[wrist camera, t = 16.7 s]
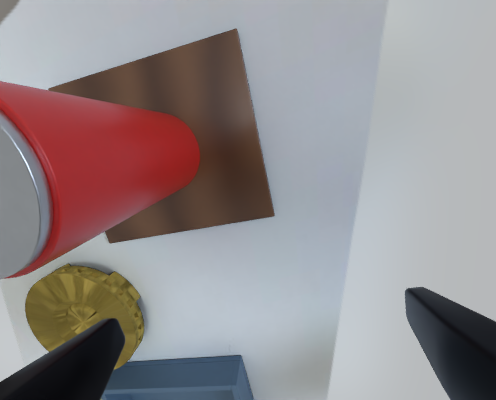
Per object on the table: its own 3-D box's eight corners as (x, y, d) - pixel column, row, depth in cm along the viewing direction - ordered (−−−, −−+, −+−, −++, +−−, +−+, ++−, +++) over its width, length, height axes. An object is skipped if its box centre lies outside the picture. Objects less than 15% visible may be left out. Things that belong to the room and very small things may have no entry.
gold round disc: (54, 342, 27) (35, 359, 25) (38, 253, 24) (15, 265, 22) (149, 362, 26) (138, 381, 24) (146, 271, 23) (133, 285, 21)
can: (215, 147, 18) (83, 172, 6) (174, 206, 20) (6, 320, 8) (149, 95, 18) (-146, 2, 5) (113, 160, 20) (-169, 203, 7)
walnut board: (237, 31, 16) (236, 27, 16) (274, 214, 20) (274, 216, 19) (53, 89, 19) (47, 88, 19) (113, 241, 22) (109, 243, 22)
